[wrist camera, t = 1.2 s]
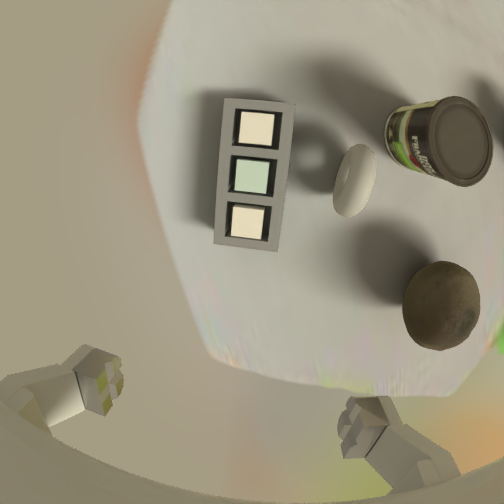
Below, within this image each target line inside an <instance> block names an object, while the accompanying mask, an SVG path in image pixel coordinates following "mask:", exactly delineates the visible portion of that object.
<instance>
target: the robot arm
mask: <svg viewBox="0 0 504 504" xmlns="http://www.w3.org/2000/svg"><path fill="white" fill-rule="evenodd" d="M121 366H122V364H121V358H119V357H118V356H116V355H113V354H111V353H108V352H105V351H102V350H100V349H97V348H94V347H92V346H89V345H87V344H84V345H82V346H81V347H80V348H78V349H77V350H76V351H75V352H74V353H73V354H72V355H71V356H70V357H69V358H68V359H67V360H66V361H65V362H63V364H61V365H59V364H55V365H51V366H47V367H42V368H38V369H33V370H29V371H25V372H20V373H15V374H11V375H7V376H6V377H5V378H4V379H3V380H2V381H0V504H504V457H502V458H500V459H498V460H496V461H493V462H491V463H489V464H487V465H485V466H482V467H480V468H478V469H475V470H473V471H471V472H468V473H465V474H463V475H461V473H460V471H459V469H458V467H457V465H456V463H455V461H454V459H453V457H452V456H451V453H450V452H448V451H447V450H445V449H443V448H442V447H440V446H439V445H437V444H436V443H434V442H433V441H431V440H429V439H428V438H427V437H425V436H423V435H422V434H421V433H419V432H418V431H416V430H414V429H413V428H411V427H410V426H409V425H407V424H404V425H403V423H402V420H401V418H400V416H399V414H398V412H397V410H396V408H395V406H394V404H393V402H392V400H391V398H390V397H389V396H376V397H375V396H371V397H370V396H369V397H368V396H367V397H366V396H365V397H364V396H359V397H358V396H351V397H350V398H349V399H348V401H347V403H346V407H347V409H346V410H345V411H343V412H342V413H341V415H340V417H339V421H338V436H339V437H340V438H341V439H342V440H343V442H342V443H341V449H342V454H343V459H346V458H347V459H350V458H365V460H366V461H367V462H368V463H369V464H370V465H371V466H372V467H373V468H374V469H375V470H376V471H377V472H378V473H379V474H380V475H381V476H382V477H383V479H384V480H386V481H387V482H388V484H389V485H391V487H392V488H393V489H392V490H391V491H390V492H389V493H388V494H387V495H386V496H381V497H375V498H368V499H361V500H352V501H341V502H328V503H274V502H261V501H260V502H259V501H249V500H241V499H233V498H227V497H220V496H214V495H209V494H203V493H199V492H194V491H190V490H186V489H181V488H177V487H174V486H170V485H166V484H163V483H159V482H156V481H153V480H150V479H147V478H143V477H140V476H138V475H135V474H132V473H129V472H127V471H124V470H121V469H119V468H116V467H114V466H111V465H109V464H107V463H104V462H102V461H100V460H97V459H95V458H93V457H91V456H89V455H87V454H85V453H83V452H81V451H79V450H77V449H75V448H73V447H71V446H69V445H67V444H65V443H64V442H62V441H60V440H58V439H56V438H55V437H53V435H52V433H51V431H50V430H49V427H50V426H52V425H54V424H57V423H59V422H61V421H63V420H65V419H67V418H69V417H72V416H74V415H76V414H78V413H80V412H82V411H84V410H85V409H87V410H90V411H92V412H95V413H97V414H99V415H102V416H106V415H107V413H108V412H109V410H110V409H111V407H112V405H113V404H112V400H113V399H116V398H118V397H119V395H120V394H121V391H122V388H123V382H124V379H123V374H122V373H121V372H120V370H119V369H120V368H121Z"/></svg>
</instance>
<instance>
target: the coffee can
mask: <svg viewBox="0 0 504 504" xmlns="http://www.w3.org/2000/svg"><path fill="white" fill-rule="evenodd" d="M384 137H385V143H386V146H387V149H388V151H389V153H390V155H391V156H392V158H393V159H394V160H395V161H396V162H397V163H398V164H399V165H401V166H402V167H404V168H406V169H410V170H415V171H418V172H422V173H425V174H428V175H431V176H434V177H437V178H440V179H443V180H446V181H448V182H450V183H452V184H455V185H457V186H461V187H468V186H472V185H475V184H476V183H478V182H479V181H481V180H482V179H483V178H484V176H485V175H486V173H487V172H488V170H489V168H490V165H491V162H492V157H493V139H492V134H491V130H490V127H489V124H488V122H487V120H486V118H485V116H484V115H483V113H482V112H481V111H480V109H479V108H478V107H477V106H476V105H475V104H473V103H472V102H471V101H469V100H467V99H465V98H462V97H457V96H452V97H447V98H444V99H442V100H436V101H431V102H425V103H420V104H415V105H410V106H403V107H400V108H398V109H396V110H395V111H394V112H392V114H391V115H390V116H389V118H388V120H387V122H386V125H385V132H384Z"/></svg>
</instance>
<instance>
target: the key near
mask: <svg viewBox="0 0 504 504" xmlns="http://www.w3.org/2000/svg"><path fill="white" fill-rule="evenodd" d="M274 117H275V116H274V115H273V114H263V113H251V112H242V114H241V124H240V134H239V143H250V144H261V145H270V146H271V145H272V136H273V127H274Z"/></svg>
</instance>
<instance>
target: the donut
mask: <svg viewBox="0 0 504 504" xmlns="http://www.w3.org/2000/svg"><path fill="white" fill-rule="evenodd" d="M376 171H377V169H376V158H375V155H374V152H373V151H372V150H371V149H370V148H369V147H367V146H366V145H363V144H357V145H355V146H353V147H351V148H350V149H349V150H348V151H347V153H346V154H345V156H344V158H343V160H342V162H341V165H340V168H339V171H338V174H337V177H336V181H335V185H334V191H333V205H334V208H335V210H336V212H337V213H338V214H340V215H342V216H344V217H348V218H349V217H353V216H355V215H356V214H358V213H359V212H360V211H361V210H362V209H363V208H364V206H365V205H366V203H367V201H368V199H369V197H370V195H371V192H372V190H373V186H374V182H375V178H376Z"/></svg>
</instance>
